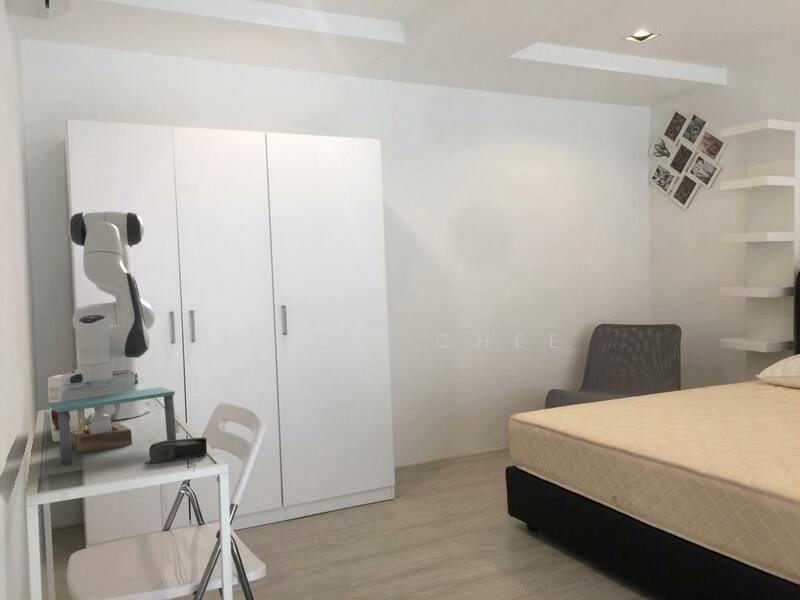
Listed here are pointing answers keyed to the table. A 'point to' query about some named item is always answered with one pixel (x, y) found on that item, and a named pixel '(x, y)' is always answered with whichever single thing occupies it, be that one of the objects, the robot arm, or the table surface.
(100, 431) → the eye dropper bottle
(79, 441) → the socket block
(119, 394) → the teal slab bridge
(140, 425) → the table surface
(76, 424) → the juice carton
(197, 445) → the mobile phone
